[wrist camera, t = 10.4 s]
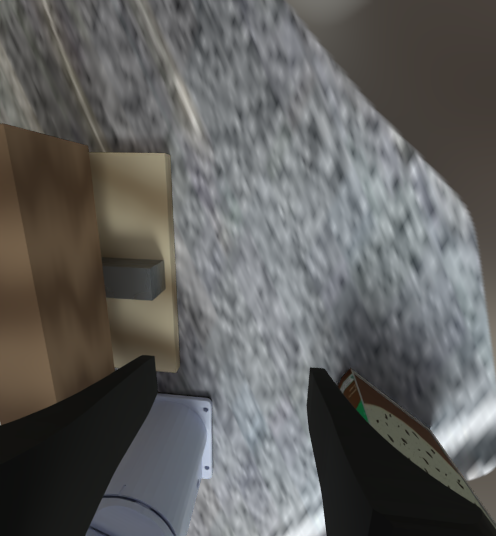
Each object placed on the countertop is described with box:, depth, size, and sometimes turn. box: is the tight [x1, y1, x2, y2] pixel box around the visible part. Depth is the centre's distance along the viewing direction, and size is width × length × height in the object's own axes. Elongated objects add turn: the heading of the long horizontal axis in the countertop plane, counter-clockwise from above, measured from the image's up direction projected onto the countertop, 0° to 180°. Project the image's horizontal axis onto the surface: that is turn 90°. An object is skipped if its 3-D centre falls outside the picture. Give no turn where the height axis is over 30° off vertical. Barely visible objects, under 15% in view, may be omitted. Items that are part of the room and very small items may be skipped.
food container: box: [338, 368, 496, 529], centre depth 20 cm, size 12×6×10 cm, turn 52°
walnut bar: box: [0, 124, 115, 425], centre depth 17 cm, size 18×4×6 cm, turn 178°
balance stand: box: [89, 152, 180, 373], centre depth 21 cm, size 18×12×4 cm, turn 179°
